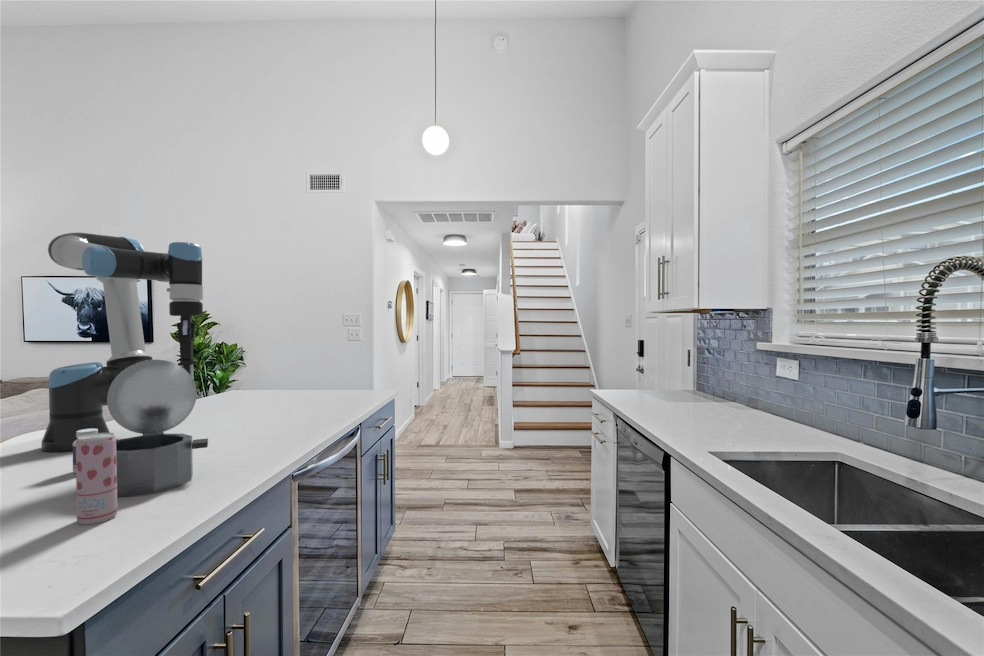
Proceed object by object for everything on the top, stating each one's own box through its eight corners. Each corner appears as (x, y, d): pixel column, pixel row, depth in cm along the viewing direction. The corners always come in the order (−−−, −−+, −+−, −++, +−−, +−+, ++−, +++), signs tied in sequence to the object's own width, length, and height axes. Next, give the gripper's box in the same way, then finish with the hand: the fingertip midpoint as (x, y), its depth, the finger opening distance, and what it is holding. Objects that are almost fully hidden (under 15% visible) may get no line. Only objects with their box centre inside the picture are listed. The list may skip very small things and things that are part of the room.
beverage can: (71, 527, 83) (69, 441, 83) (83, 515, 89) (82, 434, 88) (111, 521, 86) (110, 437, 85) (121, 510, 91) (120, 431, 91)
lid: (106, 440, 110) (108, 440, 112) (196, 432, 118) (197, 431, 120) (107, 361, 112) (110, 362, 115) (196, 358, 121) (197, 359, 123)
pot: (90, 480, 108) (90, 440, 108) (209, 465, 119) (209, 429, 119) (68, 505, 93) (67, 459, 93) (206, 485, 104) (205, 444, 104)
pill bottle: (85, 474, 112) (84, 433, 112) (66, 473, 113) (66, 432, 113) (108, 468, 118) (107, 428, 117) (90, 466, 119) (89, 427, 118)
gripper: (172, 301, 133) (173, 387, 133) (166, 299, 121) (167, 393, 122) (203, 302, 136) (204, 385, 137) (201, 300, 125) (202, 391, 125)
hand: (187, 389), depth 129 cm, fingers closed
